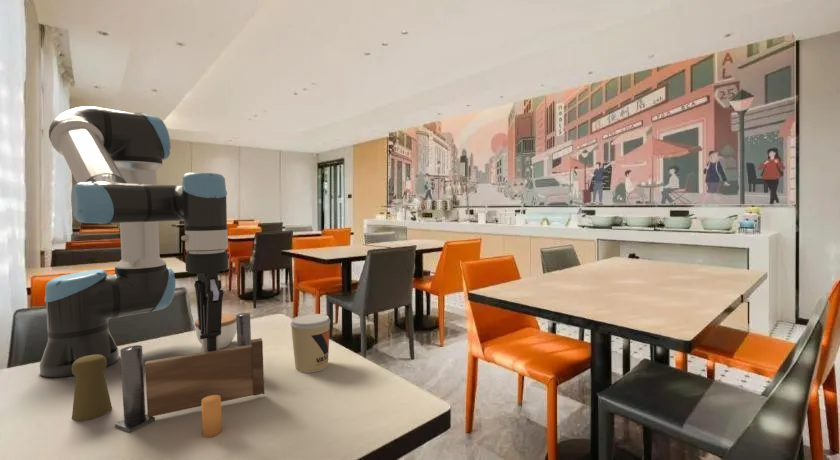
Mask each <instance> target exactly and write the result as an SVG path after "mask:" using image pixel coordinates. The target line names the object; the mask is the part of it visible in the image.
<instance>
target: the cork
mask: <svg viewBox="0 0 840 460" xmlns="http://www.w3.org/2000/svg"><path fill="white" fill-rule="evenodd" d="M106 365H107V360H106V358H105V357H104V356H103V355H88V356H84V357H81V358H79V359H77V360H76V361H74V363H73V365H72V373H73V375H72V376H75V385H74V393H73V395H74V396H73V403H72V404H73V405H72V413H71V420H73V421H76V422H77V421H78V422H81V421H82V422H83V421H88V420H89V421H90V420H93V419H96V418H100V417H102V416H104V415H106V414H108V413H109V412H110V411H112V410H113V406H112V401H111V397H110V394H109V389H108V384H107V379H106V376H105V372H104V371H105V370H106V368H107V366H106Z"/></svg>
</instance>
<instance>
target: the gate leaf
mask: <svg viewBox="0 0 840 460" xmlns="http://www.w3.org/2000/svg"><path fill="white" fill-rule="evenodd" d="M263 342H264V341H263V339H262V338H261V337H260V338H254V339H252V338H251V345H247V346H241V347H237V346H235V347H229V348H224V349H223V348H221V349H219V350H215V351H209V352H203V353H202V352H198V353H192V354H190V353H189V354H185V355H184V354H183V355H179V356H172V357H164V358H159V359H152V360H147V361H145V362H144V373H145V389H146V390H145V391H146V407H147V410H146V411H147V413H146V414H147V415H148V417H152V416H153V417H156V416H161V415H165V414H171V413H175V412H179V411H184V410H189V409H194V408H199V407H202V404H201V400H202V399H203V398H205V397H207V396H211V395H220V396H221V403H222V402H223V403H224V402H226V401H232V400H237V399H241V398H247V397H250V396H258V395H264V394H265V380H264V379H265V376H264V373H265V372H264V350H263V349H264V347H263V346H264V345H263V344H264V343H263Z"/></svg>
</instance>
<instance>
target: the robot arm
mask: <svg viewBox="0 0 840 460" xmlns="http://www.w3.org/2000/svg"><path fill="white" fill-rule="evenodd" d="M48 138H49V141H50V143H51V146H52V147H53V149H54V150H55V151H56V152H57V153H58V154H60V155H62V156H63V157H64V159H65V162H66V163H67V165H68V168H69V170H70V172H71V173H72V176H73V178H74V180H75V182H76V183H74V185H72V188H71V193H70V201H71V203H70V205H71V210H72V216H73V218H74V219H75V221H77V222H78V223H81V224H98V225H106V224H119V230H120V253H121V255H120V256H121V259H120V260H119V261H118V262H117V263H116V264H115V265H114V273H107V272H106V270H105V269H103V268H101V269H100V268H99V269H98V268H97V269H90V270H81V271H78V272H71V273H68V274H63V275H60V276H56V277H53V278H52V279H50V280H49V281H48V282H47V283H46V285H45V287H44V288H45V289H44V290H45V295H44V300H43V301H44V302H45V307H46V327H47V328H46V329H47V343H46V346H45V349H44V351H43V355H42V357H41V360H40V363H39V371H40V372H39V374H40V375H41V376H42V377H46V378H47V377H48V378H61V377H63V378H64V377H70V376H71V377H72V376H74V375H73V373H72V365H73V363H74V361H76V360H77V359H79V358H81V357H84V356H88V355H103V356H104V357H105V358H106V360H107V365H106V367H108V366H110V365H113V364H115V363H116V362H117V361H118V360H119V359H120V355H119V353H120V352H119V351H120V350H119V348H118V346H117V344H116V342H115V339H114V338H113V336H112V334H111V332H110V329H109V326H110V325H109V320H110V319H111V320H112V319H117V318H121V317H126V316H132V315H133V316H134V315H139V314H144V313H145V314H146V313H148V314H149V313H153V312H154V311H156V312H157V311H160V310H164V309H166V308H167V307H169V306H170V305H171V303H172V301H173V300H174V297H175V292H176V277H175V271H174V270H173V269H172V268H171V267H168V266H167V262H166V261H165V260H163V258H161V257H160V235H159V234H160V233H159V222H184V223H183V228H184V230H183V231H184V234H185V235H181V237H180V238H181V241H182V242H183V241H185V242H184V249H185V251H187V252H186V253H185V255H184V256H185V257H184V258H185V259H184V260H185V271H186V273H188V274H197V280H195V281H194V289H195V290H194V291H195V297H196V309H197V320H198V322H199V326H198V328H199V330H201V335H200V339H202V344H201V353H203V352H209V351H215V350H220V348H219V347H218V336H219V335H221V319H222V314H223V313H222V312H223V311H222V310H223V297H224V290H223V289H222V280H221V279H220V280H219V275H218V274H219V273H220V272H224V271H227V270H228V269H229V254H228V252H227V251H226V250H227V249H228V248H229V235H228V224H227V223H228V222H227V221H228V220H227V219H228V218H227V208H228V207H227V195H228V191H227V187H226V186H227V185H226V178H225V177H224V176H223V175H222V174H220V173H214V172H213V173H212V172H187V173H184V175H183V177H182V183H181V184H158V183H157V179H158V178H157V171H158V170H159V169H160V168H161V167H162V166H163V161H164V160H168V158H169V157H170V155H171V154H170V153H171V152H170V151H171V148H172V147H171V146H172V145H171V137H170V135H169V130H168V127H167V125H166V124H165V122H164V121H163V120H162V119H161V118H160V117H158V116H156V115H155V116H154V115H151V114H146V113H143V112H135V111H134V112H133V111H127V110H119V109H111V108H103V107H99V106H78V107H74V108H71V109H68V110H66V111H64V112H61V113H60V114H59V115H57V116H56V117H55V118H54V119H53V120H52V122H51V123H50V126H49V129H48Z"/></svg>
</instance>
